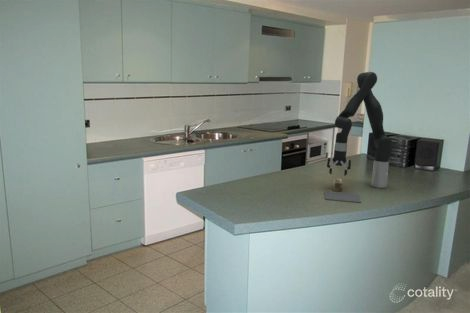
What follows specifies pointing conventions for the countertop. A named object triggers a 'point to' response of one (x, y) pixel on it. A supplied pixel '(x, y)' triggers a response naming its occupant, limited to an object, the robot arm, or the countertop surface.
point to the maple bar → (337, 185)
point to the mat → (342, 197)
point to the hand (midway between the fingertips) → (337, 174)
